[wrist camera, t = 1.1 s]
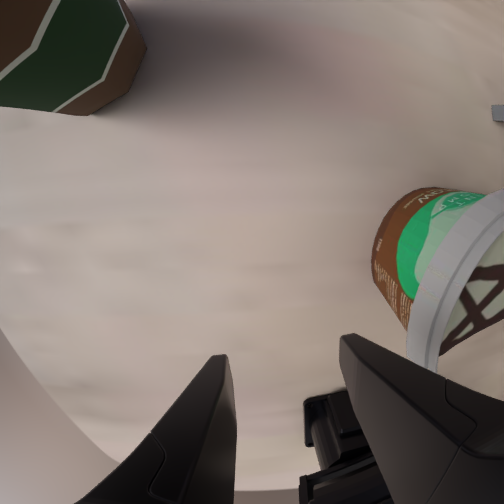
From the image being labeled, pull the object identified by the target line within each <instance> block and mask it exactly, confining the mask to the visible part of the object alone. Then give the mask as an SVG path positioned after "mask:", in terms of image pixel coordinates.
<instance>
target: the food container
mask: <svg viewBox="0 0 504 504" xmlns="http://www.w3.org/2000/svg"><path fill="white" fill-rule="evenodd" d="M371 264H372V275H373V280H374V283H375V284H376V286H377V287H378V288H379V290H380V291H381V293H382V294H383V296H384V297H385V299H386V300H387V302H388V303H389V305H390V306H391V308H392V310H393V311H394V313H395V314H396V316H397V317H398V319H399V320H400V322H401V323H402V325H403V327H404V328H405V330H406V331H407V341H406V346H407V357H408V358H410V359H411V360H412V361H414V362H415V363H416V364H418V365H420V366H422V367H424V368H426V369H427V368H429V369H430V370H431V371H432V372H434V373H436V374H437V363H438V357H439V356H441V355H443V354H444V353H446V352H447V351H448V350H450V349H451V348H452V347H454V346H455V345H457V344H458V343H460V342H462V341H463V340H465V339H467V338H469V337H470V336H472V335H473V334H475V333H477V332H479V331H481V330H483V329H485V328H487V327H489V326H491V325H493V324H494V323H496V322H498V321H500V320H502V319H504V189H500V190H498V191H495V192H493V193H490V194H488V195H483V194H477V193H471V192H465V191H458V190H451V189H444V188H437V187H431V188H421V189H418V190H414V191H412V192H410V193H409V194H407V195H405V196H404V197H402V198H401V199H400V200H399V201H397V202H396V203H395V205H394V206H393V207H392V208H391V209H390V210H389V212H388V213H387V214H386V216H385V217H384V219H383V221H382V223H381V225H380V227H379V229H378V232H377V234H376V237H375V240H374V245H373V249H372V259H371Z"/></svg>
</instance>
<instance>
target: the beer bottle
mask: <svg viewBox="0 0 504 504" xmlns="http://www.w3.org/2000/svg"><path fill="white" fill-rule="evenodd" d="M146 50H147V47H146V45H145V43H144V40H143V38H142V36H141V34H140V31H139V29H138V27H137V24H136V22H135V20H134V18H133V15H132V13H131V12H130V10H129V8H128V7H127V5H126V3H125V2H124V0H0V106H2V107H12V108H22V109H31V110H39V111H47V112H54V113H61V114H68V115H75V116H88V115H90V114H92V113H93V112H95V111H96V110H98V109H100V108H101V107H103V106H105V105H106V104H108V103H110V102H111V101H113V100H115V99H116V98H118V97H120V96H122V95H123V94H125V93H127V92H128V91H129V89H130V86H131V84H132V81H133V79H134V77H135V74H136V72H137V70H138V67H139V65H140V63H141V61H142V58H143V56H144V54H145V52H146Z"/></svg>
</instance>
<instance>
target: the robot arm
mask: <svg viewBox="0 0 504 504" xmlns="http://www.w3.org/2000/svg"><path fill="white" fill-rule="evenodd" d="M339 362H340V367H341V371H342V374H343V377H344V380H345V384H346V387H347V390H348V391H343V392H339V393H334V394H329V395H325V396H320V397H315V398H309V399H306V400H305V401H304V403H303V410H304V436H305V445H306V447H315V450H316V454H317V458H318V461H319V465H320V469H321V471H319V472H316V473H313V474H310V475H304V476H301V477H299V478H300V485H299V503H300V504H504V401H501V400H498V399H495V398H492V397H489V396H487V395H484V394H481V393H479V392H476V391H473V390H471V389H469V388H466V387H464V386H462V385H460V384H457V383H455V382H453V381H451V380H449V379H447V380H446V378H445V377H443V376H441V375H438V374H436V373H434V372H432V371H430V370H428V369H426V368H424V367H422V366H420V365H418V364H416V363H414V362H412V361H410V360H408V359H406V358H404V357H402V356H400V355H398V354H395V353H393V352H391V351H389V350H387V349H385V348H383V347H381V346H379V345H377V344H375V343H373V342H371V341H369V340H367V339H365V338H363V337H361V336H359V335H358V334H355V333H351V334H347V335H342V336H341V337H340V345H339ZM308 404H310V405H308ZM236 443H237V422H236V411H235V400H234V388H233V379H232V374H231V370H230V365H229V360H228V357H227V355H226V354H222V355H213V356H211V357H210V359H209V360H208V361H207V362H206V364H205V365H204V366H203V367H202V369H201V370H200V371H199V372H198V374H197V375H196V376H195V377H194V379H193V380H192V381H191V382H190V384H189V385H188V386H187V387H186V389H185V390H184V391H183V392H182V393H181V395H180V396H179V397H178V398H177V400H176V401H175V402H174V403H173V405H172V406H171V407H170V408H169V409H168V411H167V412H166V413H165V414H164V416H163V417H162V418H161V419H160V420H159V422H158V423H157V424H156V425H155V426H154V428H153V429H152V430H151V433H149V434H148V435H147V436H146V437H145V438H144V439H143V441H142V442H141V443H140V444H139V445H138V446H137V447H136V449H135V450H134V451H133V452H132V453H131V454H130V455H129V456H128V457H127V458H126V459H125V460H124V461H123V462H122V463H121V464H120V465H119V466H118V467H117V468H116V469H115V470H114V471H113V472H111V473H110V474H109V475H108V476H107V477H106V478H105V479H104V480H102V481H101V482H100V483H99V484H98V485H97V486H96V487H95V488H93V489H92V490H91V491H90V492H89V493H88V494H86V495H85V496H84V497H83V498H82V499H80V500H79V501H77V502H76V503H74V504H233V501H234V482H235V462H236Z"/></svg>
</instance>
